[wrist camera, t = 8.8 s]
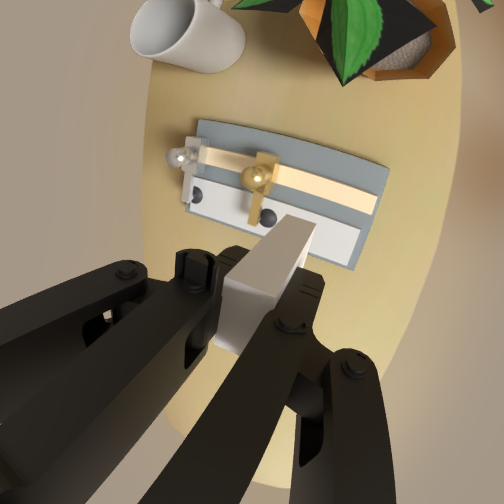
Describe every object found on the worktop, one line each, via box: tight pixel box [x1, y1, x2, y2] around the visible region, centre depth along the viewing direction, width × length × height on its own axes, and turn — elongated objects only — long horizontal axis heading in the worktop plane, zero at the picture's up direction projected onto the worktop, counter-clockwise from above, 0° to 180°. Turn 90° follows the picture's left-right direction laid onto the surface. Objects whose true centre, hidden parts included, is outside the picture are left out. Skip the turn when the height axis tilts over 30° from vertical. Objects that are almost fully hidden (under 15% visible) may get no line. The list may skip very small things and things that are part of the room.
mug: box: [130, 0, 246, 74], centre depth 21 cm, size 12×8×11 cm
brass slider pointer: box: [240, 151, 282, 227], centre depth 27 cm, size 8×2×5 cm, turn 167°
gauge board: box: [185, 119, 390, 271], centre depth 30 cm, size 12×22×3 cm, turn 77°
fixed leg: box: [166, 136, 210, 203], centre depth 29 cm, size 8×2×5 cm, turn 167°
